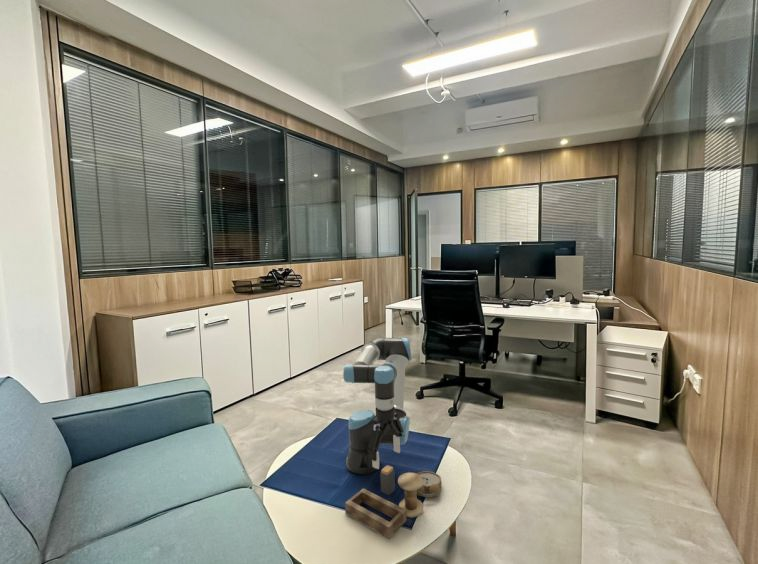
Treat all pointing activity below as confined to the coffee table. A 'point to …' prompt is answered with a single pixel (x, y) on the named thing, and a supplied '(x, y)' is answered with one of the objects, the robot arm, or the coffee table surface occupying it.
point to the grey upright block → (387, 480)
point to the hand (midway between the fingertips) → (386, 459)
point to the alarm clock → (429, 484)
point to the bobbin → (411, 494)
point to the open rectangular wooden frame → (372, 519)
